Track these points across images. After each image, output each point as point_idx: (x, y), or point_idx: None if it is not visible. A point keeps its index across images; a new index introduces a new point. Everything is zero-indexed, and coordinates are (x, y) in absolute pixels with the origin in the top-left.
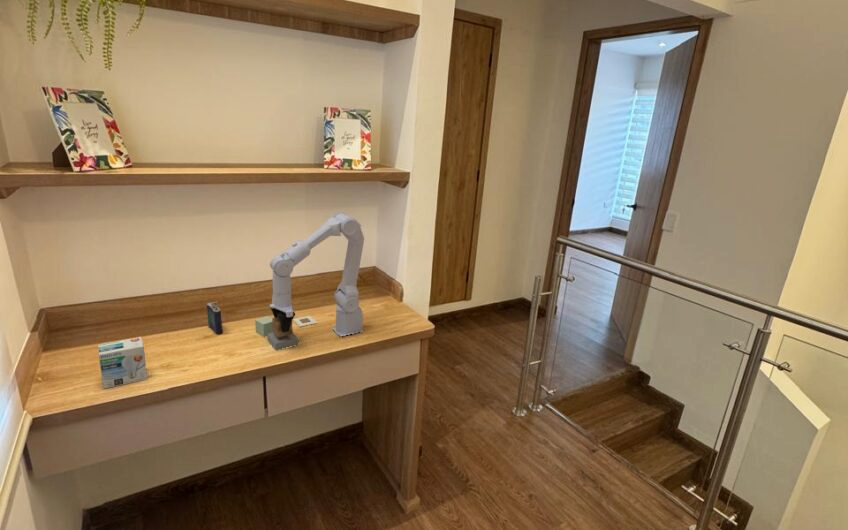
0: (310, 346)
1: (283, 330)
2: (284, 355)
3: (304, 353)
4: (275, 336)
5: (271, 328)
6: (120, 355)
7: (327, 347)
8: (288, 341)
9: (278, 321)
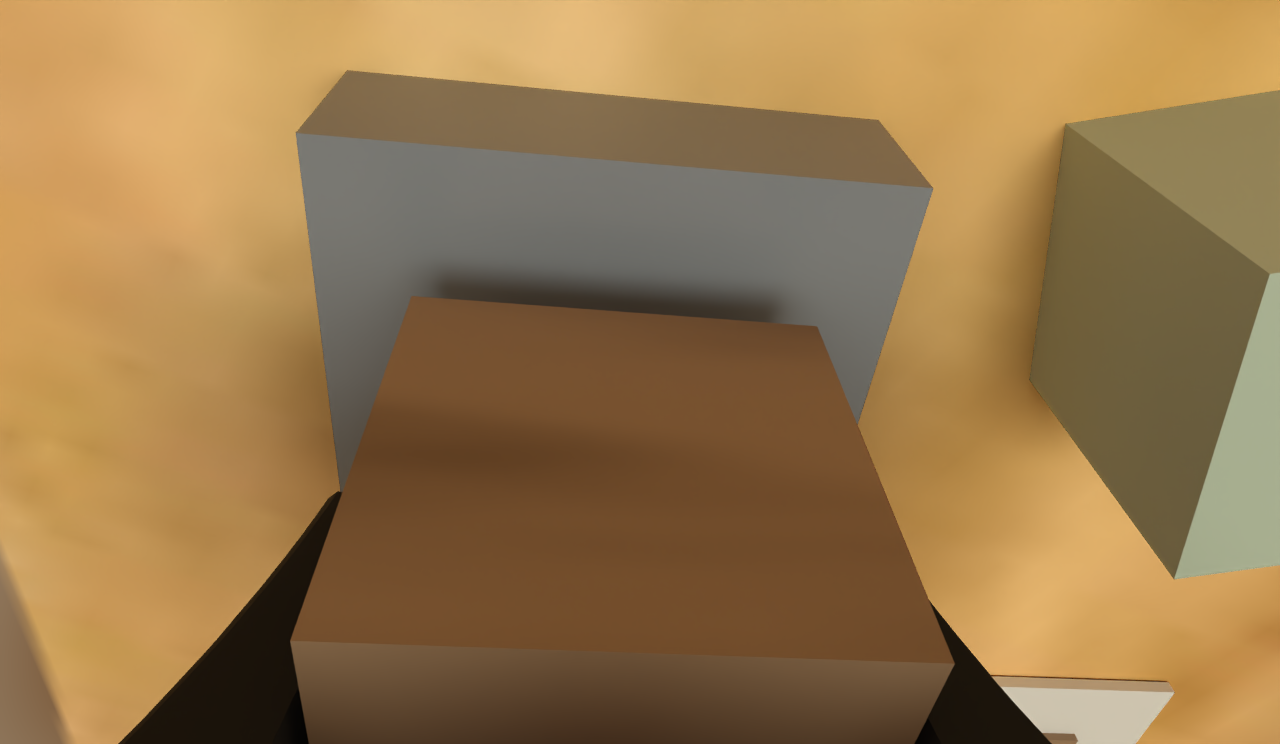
0: (259, 581)
1: (302, 549)
2: (59, 137)
3: (43, 443)
4: (671, 288)
5: (1105, 370)
6: None
7: (143, 708)
8: (333, 409)
9: (522, 722)
